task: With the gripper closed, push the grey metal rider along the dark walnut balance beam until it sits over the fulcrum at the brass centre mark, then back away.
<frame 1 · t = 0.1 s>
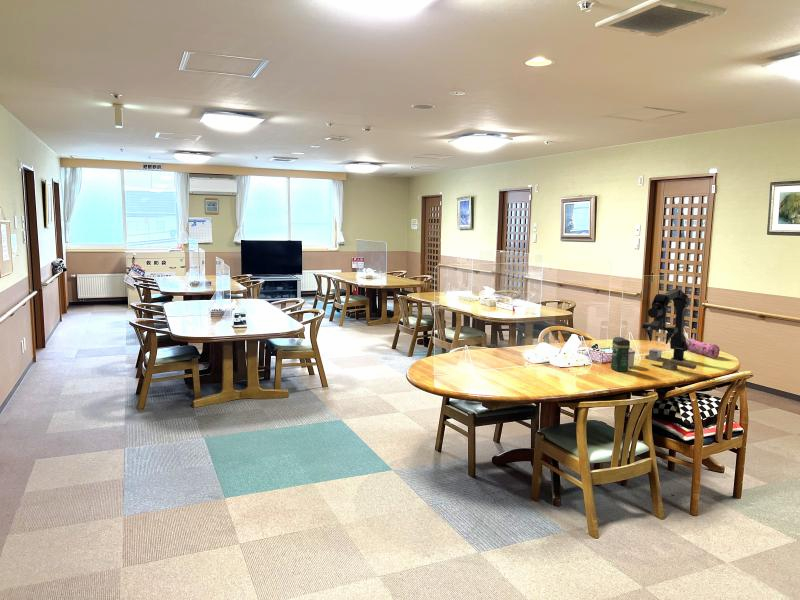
hand: (658, 342, 340), 15 cm above the table, fingers open, 9 cm apart
pencil case: (701, 355, 375), on the table
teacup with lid: (623, 365, 345), on the table
beam: (669, 368, 340), on the table
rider: (655, 354, 346), point 6 cm above the table, slide at -9.0 cm
coffee jar: (619, 370, 336), on the table
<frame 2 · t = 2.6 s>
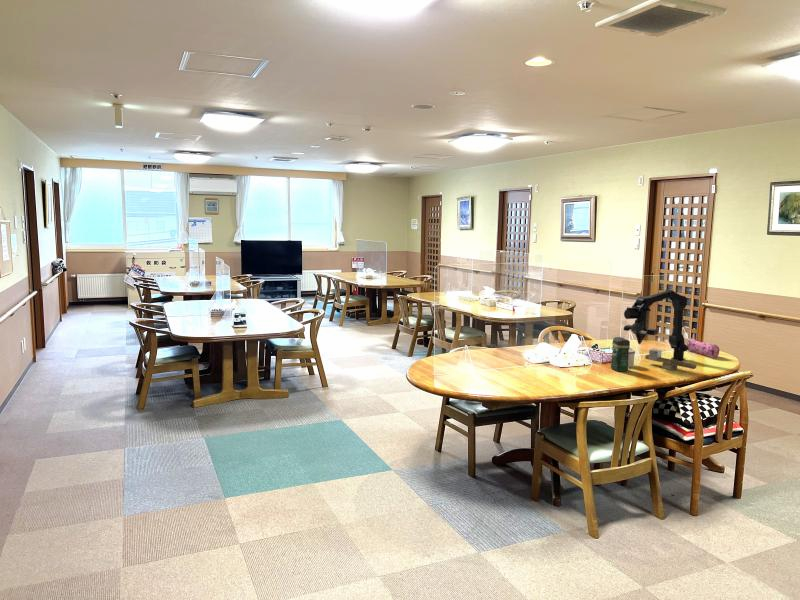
hand: (639, 344, 353), 11 cm above the table, fingers closed
nothing on the table moved.
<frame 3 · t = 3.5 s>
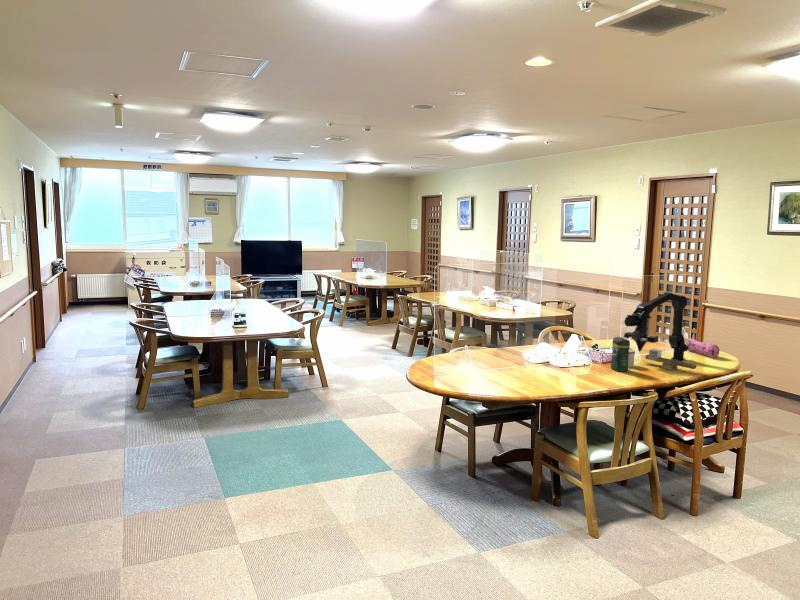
hand: (639, 351, 353), 6 cm above the table, fingers closed
nothing on the table moved.
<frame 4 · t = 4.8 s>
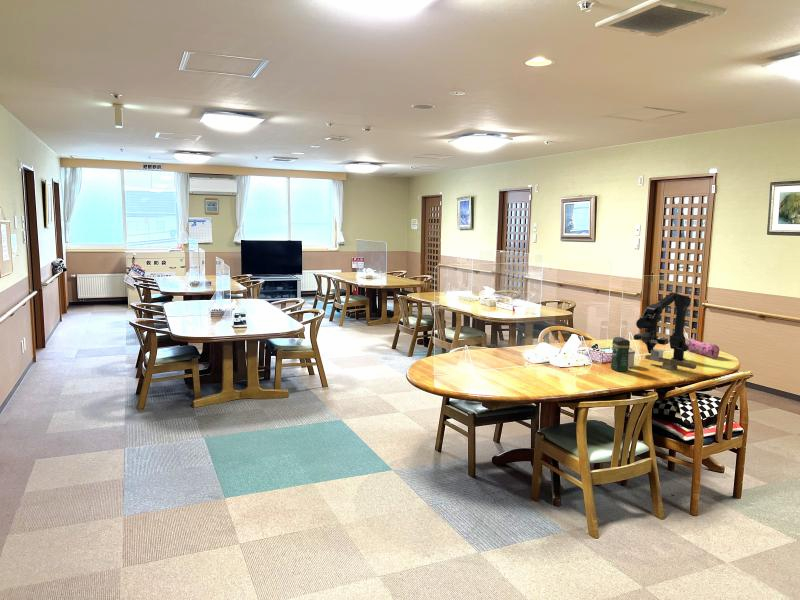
hand: (649, 353, 348), 6 cm above the table, fingers closed
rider: (656, 355, 345), point 6 cm above the table, slide at -8.1 cm, touching gripper
everything else where it was.
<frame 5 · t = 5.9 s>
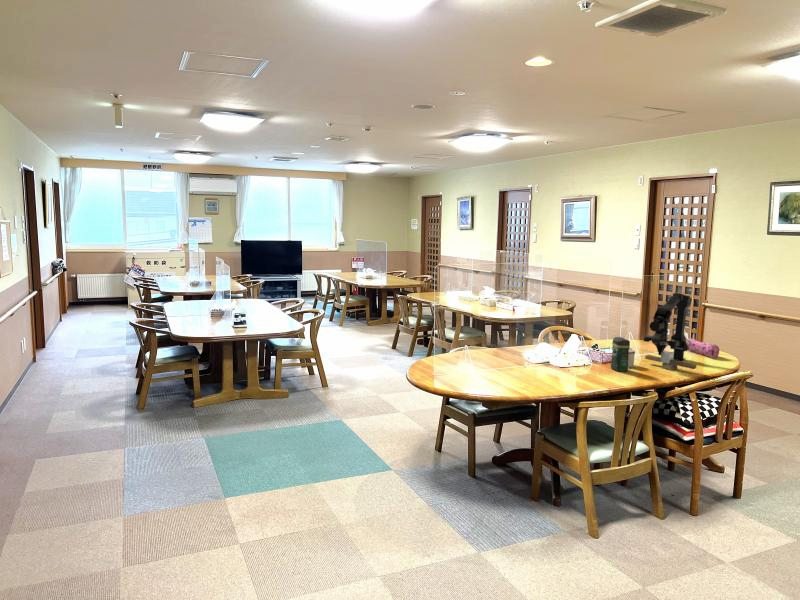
hand: (659, 355, 344), 6 cm above the table, fingers closed
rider: (667, 357, 341), point 6 cm above the table, slide at -1.9 cm, touching gripper
everything else where it was.
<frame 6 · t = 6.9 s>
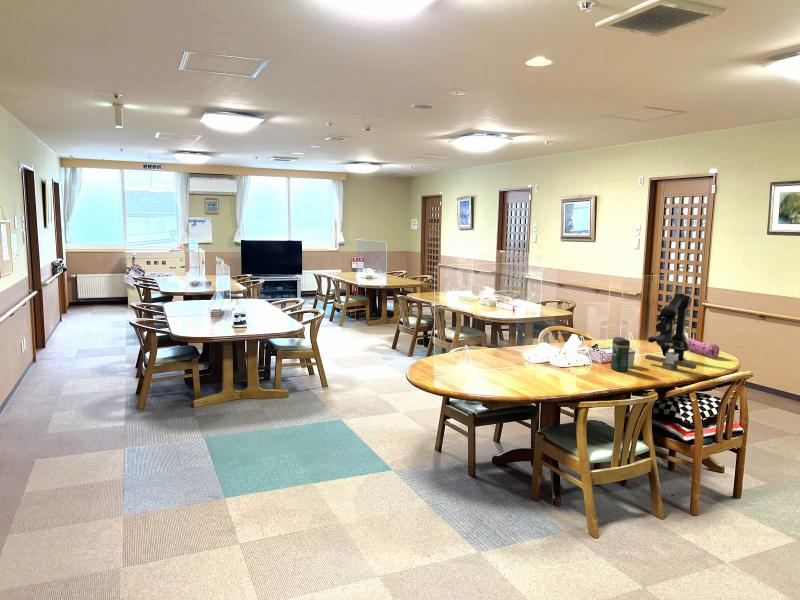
hand: (664, 356, 342), 6 cm above the table, fingers closed
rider: (671, 358, 339), point 6 cm above the table, slide at 0.7 cm, touching gripper
everything else where it was.
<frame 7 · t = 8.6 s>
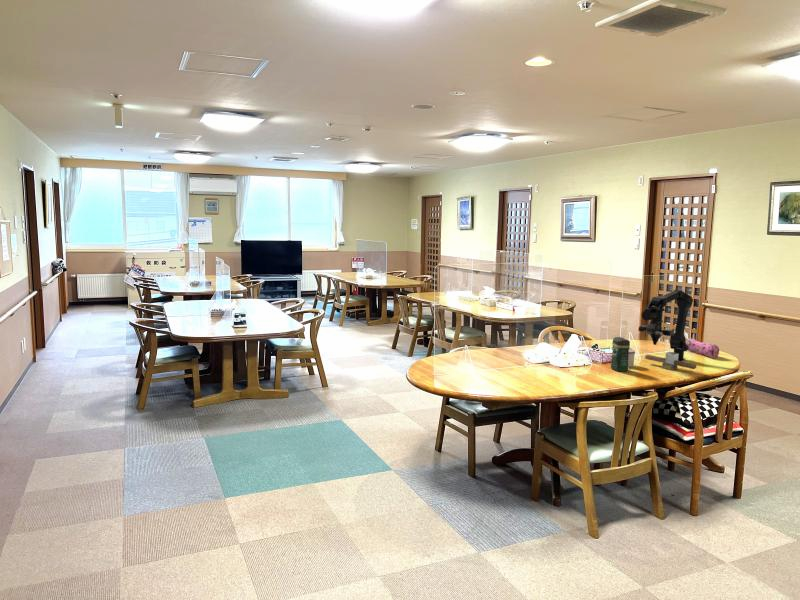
hand: (654, 344, 347), 12 cm above the table, fingers closed
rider: (671, 358, 339), point 6 cm above the table, slide at 0.7 cm
everything else where it was.
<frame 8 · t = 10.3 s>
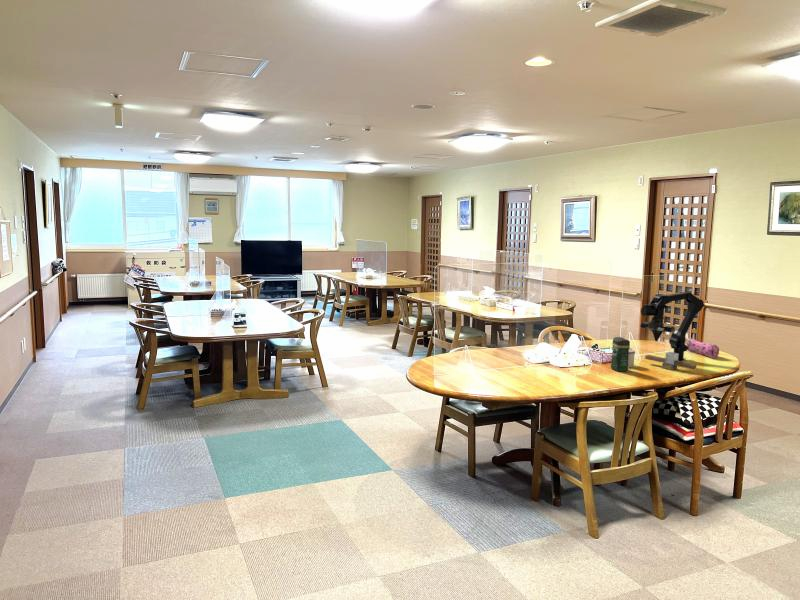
hand: (656, 341, 356), 12 cm above the table, fingers closed
nothing on the table moved.
at the end: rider slide at 0.7 cm; the gripper is holding nothing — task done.
